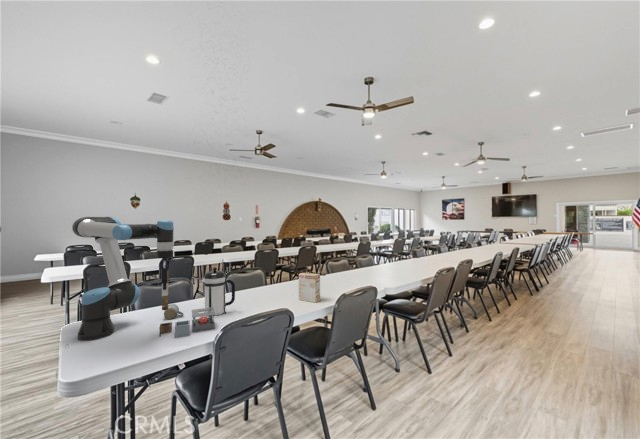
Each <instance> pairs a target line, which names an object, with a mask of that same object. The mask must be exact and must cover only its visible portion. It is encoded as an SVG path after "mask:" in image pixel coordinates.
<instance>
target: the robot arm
mask: <svg viewBox="0 0 640 439" xmlns="http://www.w3.org/2000/svg"><path fill="white" fill-rule="evenodd" d="M71 228H72V229H71V231H72V232H73V234H75V235H76V236H77V237H80V238H87V239H88V238H94V241H95V243H97V244H99V247H100V251H101V255H102V259H103V262H104V266H105V270H106V271H105V272H106V273H107V274H106V275H107V279H108V282H109V283H108V285H107V286H106V287H105V286H104V287H98V288H94V289H90V290H87V291H86V292H84V293H83V294H82V296H81V302H80V303H81V324H80V326H79V329H78V332H77V340H78V341H86V342H87V341H93V340H100V339H102V338H106V337H109V336H110V335H113V333H115V325H114V324H113V321H112V319H111V311H114V310H115V311H116V310H119V309H122V308H128V307H129V306H132V305H134V304H136V303H137V301H138V300H139V297H140V288H139V287H138V285H137V284H136V283H133V280H132V279H129V278H128V275H127V271H126V268H125V264H124V261H123V256H122V253H121V249H120V245H119V241H128V240H129V241H130V240H141V239H142V240H143V239H144V240H145V239H157V240H156V250H157V251H156V257H157V259H162V260H161V261H160V270H161V282H160V285H161V297H162V296H168V297H169V282H170V281H171V279H170V278H169V269H170V263H171V262H170V260H169V259H171V258H173V257H174V250H173V249H174V246H175V243H174V229H175V228H174V221H172V220H157V223H142V224H141V223H139V224H137V223H136V224H135V223H134V224H133V223H131V224H127V223H122V222H121V221H120V220H119V219H118V218H117V217H110V216H83V217H80V218H77V219H76V220H75V221H74V222H73V224H72V227H71ZM167 279H168V281H167Z"/></svg>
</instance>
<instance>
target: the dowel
mask: <svg viewBox="0 0 640 439" xmlns="http://www.w3.org/2000/svg"><path fill="white" fill-rule="evenodd" d="M168 280H169V279H167V281H168ZM168 282H169V281H168ZM168 305H169V295H168V296H162V295H161V310H162V311H165V310H167V309H168Z"/></svg>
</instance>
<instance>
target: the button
mask: <svg viewBox="0 0 640 439" xmlns="http://www.w3.org/2000/svg"><path fill="white" fill-rule="evenodd" d="M207 318H208V316H201V317H198V319H199V323H206V322H207Z"/></svg>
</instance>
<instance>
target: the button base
mask: <svg viewBox="0 0 640 439" xmlns="http://www.w3.org/2000/svg"><path fill="white" fill-rule="evenodd" d="M205 311H208V312H205ZM209 315H211V317H209ZM214 315H215V312H214V308H213V307H211V308H205V307H203V308H197V309H196V308H195V309H192V310H191V318H192V319H191V330H192V331H191V333H196V332H202V331H204V332H205V331H211V330H215V329H216V328H215V327H216V325H215V324H216V323H215V319H214ZM200 317H207V322H206V323H199V318H200Z"/></svg>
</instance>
